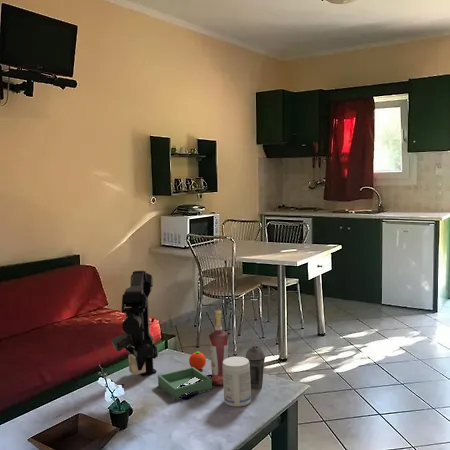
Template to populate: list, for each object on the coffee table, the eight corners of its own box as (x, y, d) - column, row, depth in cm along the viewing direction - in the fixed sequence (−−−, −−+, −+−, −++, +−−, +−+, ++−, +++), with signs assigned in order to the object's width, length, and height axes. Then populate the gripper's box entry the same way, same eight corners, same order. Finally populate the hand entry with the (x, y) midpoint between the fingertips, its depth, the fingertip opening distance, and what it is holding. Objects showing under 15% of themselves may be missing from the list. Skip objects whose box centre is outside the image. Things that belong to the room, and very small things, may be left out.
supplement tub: (250, 395, 185) (249, 355, 184) (252, 407, 176) (251, 365, 174) (223, 396, 185) (221, 356, 183) (224, 408, 175) (222, 366, 174)
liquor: (231, 386, 193) (228, 313, 190) (211, 387, 192) (209, 314, 189) (228, 378, 200) (226, 308, 198) (209, 380, 199) (207, 309, 197)
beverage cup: (266, 383, 195) (264, 332, 193) (265, 391, 188) (264, 338, 185) (246, 383, 195) (245, 332, 193) (245, 391, 188) (244, 338, 186)
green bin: (158, 385, 196) (158, 375, 195) (193, 376, 203) (193, 366, 203) (175, 400, 183) (175, 389, 182) (212, 389, 191) (211, 379, 190)
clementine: (191, 364, 216) (191, 348, 215) (208, 365, 215) (207, 348, 214) (187, 372, 208) (187, 355, 208) (204, 372, 207) (204, 355, 207)
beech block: (129, 371, 185) (128, 354, 184) (141, 368, 187) (140, 352, 186) (133, 375, 181) (132, 358, 180) (145, 372, 183) (145, 355, 182)
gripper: (104, 323, 186) (107, 365, 187) (122, 336, 170) (124, 382, 172) (133, 318, 192) (135, 358, 193) (153, 330, 176) (155, 374, 177)
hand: (137, 368), depth 184 cm, fingers closed on beech block, 4 cm apart
